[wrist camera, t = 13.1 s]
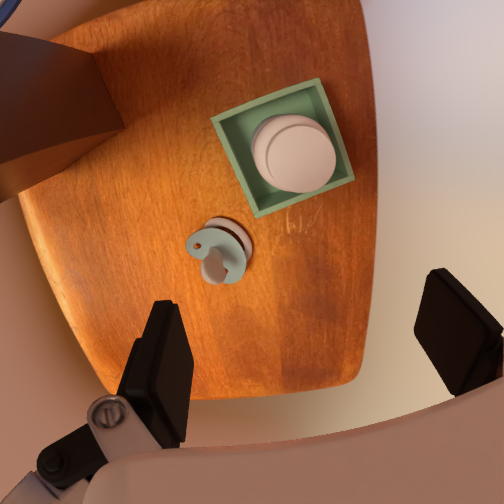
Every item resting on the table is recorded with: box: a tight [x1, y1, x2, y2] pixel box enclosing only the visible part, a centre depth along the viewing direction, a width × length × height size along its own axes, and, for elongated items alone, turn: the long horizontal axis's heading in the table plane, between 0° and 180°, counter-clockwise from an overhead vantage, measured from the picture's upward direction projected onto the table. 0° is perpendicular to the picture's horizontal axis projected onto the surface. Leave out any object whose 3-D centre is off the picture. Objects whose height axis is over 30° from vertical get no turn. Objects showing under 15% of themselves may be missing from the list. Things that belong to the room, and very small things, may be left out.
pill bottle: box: [250, 114, 336, 193], centre depth 24 cm, size 6×6×11 cm
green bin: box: [210, 77, 355, 219], centre depth 28 cm, size 10×10×5 cm
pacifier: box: [186, 218, 252, 285], centre depth 32 cm, size 7×6×6 cm
